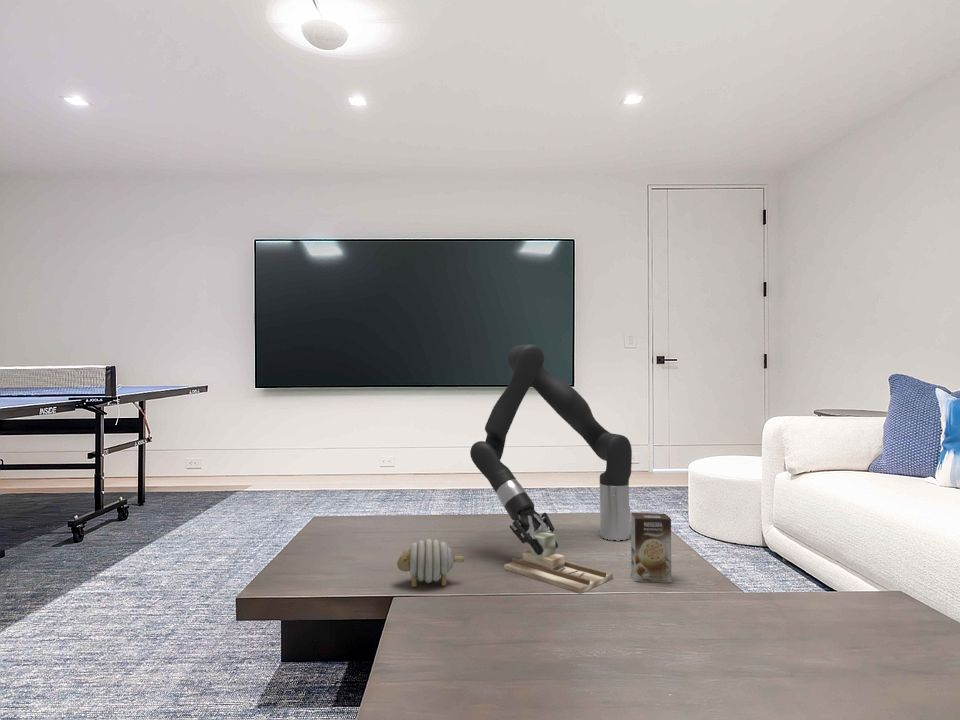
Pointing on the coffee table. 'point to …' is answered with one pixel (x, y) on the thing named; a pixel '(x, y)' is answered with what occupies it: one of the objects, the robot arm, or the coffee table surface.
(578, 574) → the birch plank
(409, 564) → the toy sheep
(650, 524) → the coffee box
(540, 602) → the coffee table surface
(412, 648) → the coffee table surface
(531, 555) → the block
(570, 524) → the coffee table surface
